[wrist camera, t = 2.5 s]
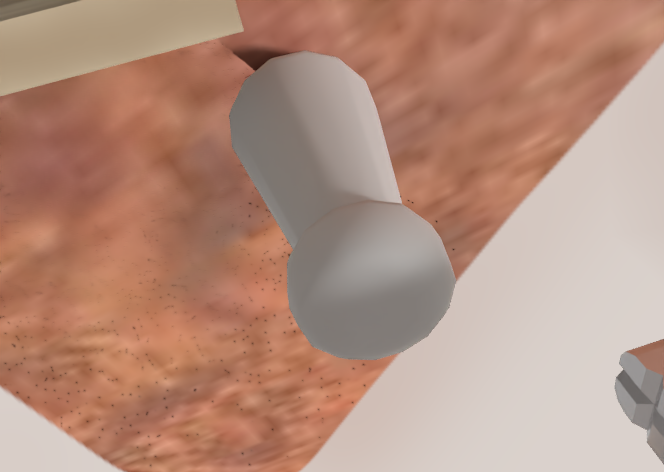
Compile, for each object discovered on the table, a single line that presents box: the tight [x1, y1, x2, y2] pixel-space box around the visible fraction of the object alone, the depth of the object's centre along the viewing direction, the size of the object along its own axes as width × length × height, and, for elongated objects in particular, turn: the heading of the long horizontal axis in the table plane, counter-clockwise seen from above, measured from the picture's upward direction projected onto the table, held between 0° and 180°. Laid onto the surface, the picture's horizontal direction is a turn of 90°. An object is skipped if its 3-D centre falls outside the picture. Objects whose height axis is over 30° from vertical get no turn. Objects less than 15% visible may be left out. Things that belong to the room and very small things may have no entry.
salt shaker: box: [229, 50, 456, 360], centre depth 18 cm, size 6×6×13 cm
